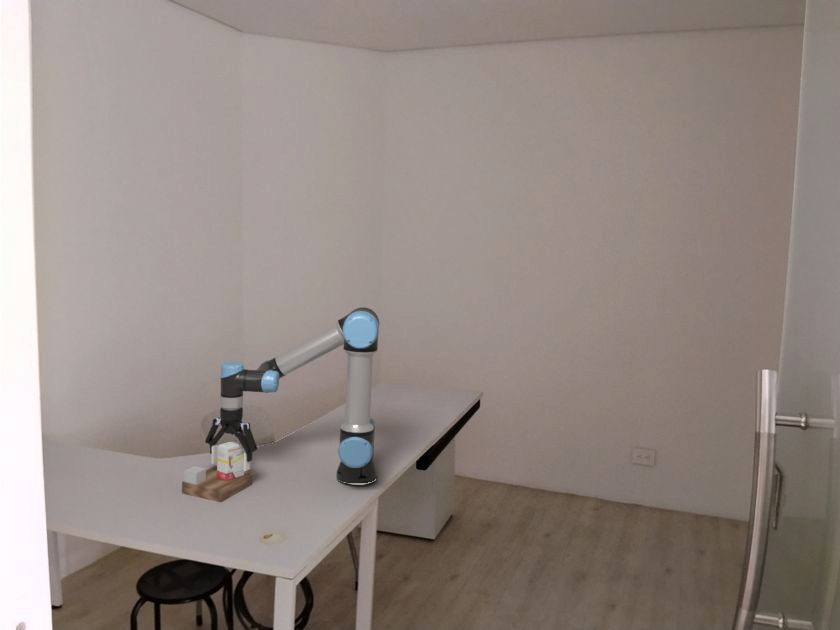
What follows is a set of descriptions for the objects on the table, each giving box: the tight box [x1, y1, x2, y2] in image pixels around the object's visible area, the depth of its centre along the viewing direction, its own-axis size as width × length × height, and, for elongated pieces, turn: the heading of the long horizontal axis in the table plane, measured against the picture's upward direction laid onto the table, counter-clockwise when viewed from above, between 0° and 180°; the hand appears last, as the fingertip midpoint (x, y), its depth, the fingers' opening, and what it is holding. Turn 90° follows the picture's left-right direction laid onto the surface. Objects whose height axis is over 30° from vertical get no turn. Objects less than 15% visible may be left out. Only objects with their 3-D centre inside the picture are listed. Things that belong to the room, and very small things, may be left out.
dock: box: [181, 464, 254, 503], centre depth 251 cm, size 16×18×4 cm
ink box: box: [216, 440, 246, 481], centre depth 252 cm, size 9×5×12 cm, turn 145°
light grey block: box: [183, 465, 207, 485], centre depth 247 cm, size 5×5×4 cm
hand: (230, 466), depth 252 cm, fingers open, 13 cm apart
